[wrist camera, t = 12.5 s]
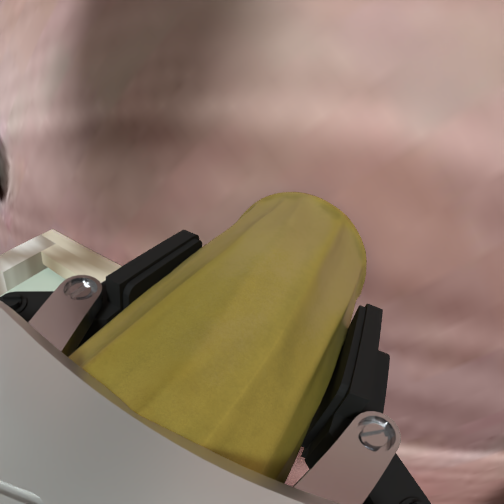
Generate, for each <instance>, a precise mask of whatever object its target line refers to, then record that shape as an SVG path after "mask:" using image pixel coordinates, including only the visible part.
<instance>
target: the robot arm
mask: <svg viewBox="0 0 504 504" xmlns="http://www.w3.org/2000/svg"><path fill="white" fill-rule="evenodd" d="M200 248H202V242H201V241H200V240H199V236H198V235H196V234H193V233H191V232H188V231H186V230H182V231H180V232H179V233H177V234H175V235H173V236H172V237H170V238H168V239H167V240H165V241H163V242H162V243H160V244H158V245H157V246H155V247H153V248H152V249H150V250H148V251H147V252H145V253H143V254H142V255H140V256H138V257H137V258H135V259H133V260H132V261H130V262H129V263H127V264H125V265H124V266H122V267H120V268H119V269H117V270H116V271H114V272H112V273H111V274H109V275H108V276H106V280H105V281H103V282H102V283H100V281H99V280H97V279H96V278H94V277H92V276H88V275H76V276H72V277H69V278H67V279H66V280H64V281H63V282H62V283H61V284H60V285H59V286H58V288H57V289H56V290H55V291H15V292H9V293H6V294H4V295H3V296H1V297H0V504H431V503H430V501H429V500H428V498H427V497H426V496H425V494H424V493H423V491H422V490H421V488H420V487H419V486H418V484H417V483H416V481H415V480H414V478H413V477H412V476H411V474H410V473H409V471H408V470H407V468H406V467H405V466H404V464H403V463H402V461H401V460H400V458H399V457H398V456H397V454H396V451H397V450H398V448H399V445H400V442H401V434H400V431H399V428H398V426H397V425H396V424H395V422H394V421H393V420H392V419H391V418H389V417H388V416H386V415H384V414H383V410H384V403H385V396H386V388H387V380H388V371H389V361H390V356H389V354H387V353H384V352H381V351H379V350H378V347H379V339H380V331H381V322H382V312H383V310H382V309H380V308H377V307H375V306H372V305H370V304H366V306H365V307H363V306H359V307H358V309H357V311H356V313H355V315H354V317H353V319H352V321H351V323H350V325H349V327H348V330H347V334H346V338H345V341H344V343H343V346H342V348H341V351H340V354H339V357H338V360H337V363H336V366H335V369H334V372H333V374H332V377H331V380H330V382H329V385H328V387H327V389H326V392H325V394H324V396H323V398H322V401H321V403H320V405H319V407H318V409H317V411H316V413H315V415H314V417H313V418H312V421H311V423H310V426H309V428H308V431H307V433H306V436H305V438H304V440H303V443H302V445H301V446H302V447H305V448H304V450H303V453H302V455H301V457H304V458H305V462H306V464H307V466H308V467H309V470H308V471H307V472H306V473H305V474H304V476H303V477H302V478H301V479H300V480H299V481H298V482H297V483H296V484H295V485H294V486H293V487H291V486H289V485H286V484H284V483H281V482H279V481H276V480H274V479H272V478H269V477H267V476H264V475H262V474H260V473H257V472H255V471H253V470H250V469H248V468H246V467H244V466H241V465H239V464H237V463H235V462H233V461H231V460H229V459H227V458H224V457H222V456H220V455H218V454H216V453H214V452H212V451H210V450H209V449H207V448H205V447H203V446H200V445H198V444H196V443H194V442H192V441H190V440H188V439H186V438H184V437H182V436H180V435H178V434H176V433H174V432H172V431H170V430H168V429H166V428H164V427H162V426H160V425H158V424H156V423H154V422H152V421H150V420H148V419H146V418H144V417H142V416H140V415H138V414H137V413H135V412H134V411H132V410H131V409H130V408H129V407H128V406H127V405H126V404H125V403H124V402H123V401H122V400H121V399H120V398H118V397H117V396H116V395H115V394H114V393H112V392H111V391H110V390H109V389H108V388H106V387H105V386H104V385H103V384H102V383H100V382H99V381H98V380H96V379H95V378H94V377H92V376H91V375H90V374H89V373H87V372H86V371H85V370H83V369H82V368H81V367H79V366H78V365H77V364H76V363H74V362H73V361H72V360H71V359H69V358H68V357H69V356H70V355H71V354H72V353H73V352H74V351H76V350H77V349H78V348H79V347H80V346H81V345H83V344H84V343H85V342H86V341H87V340H88V339H90V338H91V337H92V336H93V335H94V334H96V333H97V332H98V331H99V330H100V329H102V328H103V327H104V326H105V325H106V324H107V323H109V322H110V321H111V320H112V319H113V318H115V317H116V316H117V315H118V314H119V313H121V312H122V311H123V310H124V309H125V308H126V307H128V306H129V305H130V304H131V303H132V302H134V301H135V300H136V299H137V298H138V297H140V296H141V295H142V294H143V293H145V292H146V291H147V290H148V289H150V288H151V287H152V286H154V285H155V284H156V283H158V282H159V281H160V280H162V279H163V278H164V277H166V276H167V275H168V274H170V273H171V272H172V271H173V270H174V269H175V268H177V267H178V266H179V265H180V264H181V263H182V262H184V261H185V260H186V259H187V258H189V257H190V256H191V255H193V254H194V253H195V252H197V251H198V250H199V249H200Z"/></svg>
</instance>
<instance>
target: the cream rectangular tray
mask: <svg viewBox="0 0 504 504" xmlns="http://www.w3.org/2000/svg"><path fill="white" fill-rule="evenodd" d="M120 267H122V266H120V265H118V264H116V263H114V262H113V261H111V260H109V259H107V258H105V257H103V256H101V255H99V254H97V253H95V252H94V251H92V250H90V249H88V248H86V247H84V246H82V245H81V244H79V243H77V242H75V241H73V240H71V239H70V238H68V237H66V236H64V235H62V234H61V233H59V232H57V231H55V230H54V229H52V230H50V231H48V232H45V233H43V234H41V235H39V236H37V237H35V238H33V239H31V240H29V241H27V242H25V243H23V244H21V245H19V246H17V247H15V248H13V249H11V250H9V251H7V252H5V253H3V254H2V255H0V296H1V295H3V294H4V293H6V292H8V291H9V290H11V289H12V288H14V287H16V286H17V285H19V284H21V283H22V282H24V281H26V280H27V279H29V278H31V277H32V276H34V275H36V274H37V273H39V272H41V271H43V270H44V269H46V268H50V269H51V270H52V271H54V272H55V273H57V274H58V275H60V276H61V277H63V278H64V279H67V278H69V277H72V276H76V275H88V276H92V277H94V278H96V279H97V280H99V281H100V283H102V282H103V281H105V280H106V276H108V275H109V274H111V273H112V272H114V271H116V270H117V269H119V268H120Z"/></svg>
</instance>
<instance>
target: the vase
mask: <svg viewBox="0 0 504 504" xmlns="http://www.w3.org/2000/svg"><path fill="white" fill-rule="evenodd" d="M366 262H367V261H366V252H365V248H364V245H363V242H362V240H361V237H360V235H359V233H358V231H357V229H356V228H355V226H354V225H353V223H352V222H351V221H350V219H349V218H348V217H347V216H346V215H345V214H344V213H343V212H342V211H340V210H339V209H338V208H337V207H335V206H334V205H332V204H330V203H329V202H327V201H325V200H323V199H321V198H319V197H316V196H313V195H310V194H306V193H300V192H284V193H277V194H273V195H270V196H267V197H265V198H262V199H261V200H259V201H257V202H256V203H255V204H253V205H252V206H251V207H250V208H249V209H248V210H247V211H246V212H245V213H244V214H243V215H242V216H241V217H240V219H239V220H238V221H237V222H236V223H235V224H234V225H233V226H231V227H230V228H229V229H227V230H226V231H225V232H223V233H222V234H220V235H219V236H217V237H216V238H214V239H213V240H212V241H210V242H209V243H208V244H206V245H204V246H203V247H202V248H200V249H199V250H198V251H197V252H195V253H194V254H193V255H191V256H190V257H189V258H187V259H186V260H185V261H184V262H182V263H181V264H180V265H179V266H178V267H177V268H175V269H174V270H173V271H172V272H171V273H170V274H168V275H167V276H166V277H164V278H163V279H162V280H160V281H159V282H158V283H156V284H155V285H154V286H152V287H151V288H150V289H148V290H147V291H146V292H145V293H143V294H142V295H141V296H140V297H138V298H137V299H136V300H135V301H134V302H132V303H131V304H130V305H129V306H128V307H126V308H125V309H124V310H123V311H122V312H121V313H119V314H118V315H117V316H116V317H115V318H113V319H112V320H111V321H110V322H109V323H107V324H106V325H105V326H104V327H103V328H102V329H100V330H99V331H98V332H97V333H96V334H94V335H93V336H92V337H91V338H90V339H88V340H87V341H86V342H85V343H84V344H83V345H81V346H80V347H79V348H78V349H77V350H76V351H74V352H73V353H72V354H71V355H70V356H69V357H68V358H69V359H71V360H72V361H73V362H74V363H76V364H77V365H78V366H79V367H81V368H82V369H83V370H85V371H86V372H87V373H89V374H90V375H91V376H92V377H94V378H95V379H96V380H98V381H99V382H100V383H102V384H103V385H104V386H105V387H106V388H108V389H109V390H110V391H111V392H112V393H114V394H115V395H116V396H117V397H118V398H120V399H121V400H122V401H123V402H124V403H125V404H126V405H127V406H128V407H129V408H130V409H131V410H132V411H134V412H135V413H137V414H138V415H140V416H142V417H144V418H146V419H148V420H150V421H152V422H154V423H156V424H158V425H160V426H162V427H164V428H166V429H168V430H170V431H172V432H174V433H176V434H178V435H180V436H182V437H184V438H186V439H188V440H190V441H192V442H194V443H196V444H198V445H200V446H203V447H205V448H207V449H209V450H210V451H212V452H214V453H216V454H218V455H220V456H222V457H224V458H227V459H229V460H231V461H233V462H235V463H237V464H239V465H241V466H244V467H246V468H248V469H250V470H253V471H255V472H257V473H260V474H262V475H264V476H267V477H269V478H272V479H274V480H276V481H279V482H281V483H285V481H286V479H287V477H288V475H289V473H290V470H291V468H292V466H293V464H294V461H295V459H296V457H297V454H298V452H299V450H300V447H301V445H302V443H303V440H304V438H305V436H306V433H307V431H308V428H309V426H310V423H311V421H312V418H313V417H314V415H315V413H316V411H317V409H318V407H319V405H320V403H321V401H322V398H323V396H324V394H325V392H326V389H327V387H328V385H329V382H330V380H331V377H332V374H333V372H334V369H335V366H336V363H337V360H338V357H339V354H340V351H341V348H342V346H343V343H344V341H345V338H346V334H347V330H348V327H349V325H350V322H351V318H352V314H353V310H354V306H355V302H356V300H357V298H358V297H359V295H360V294H361V291H362V288H363V284H364V281H365V276H366Z"/></svg>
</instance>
